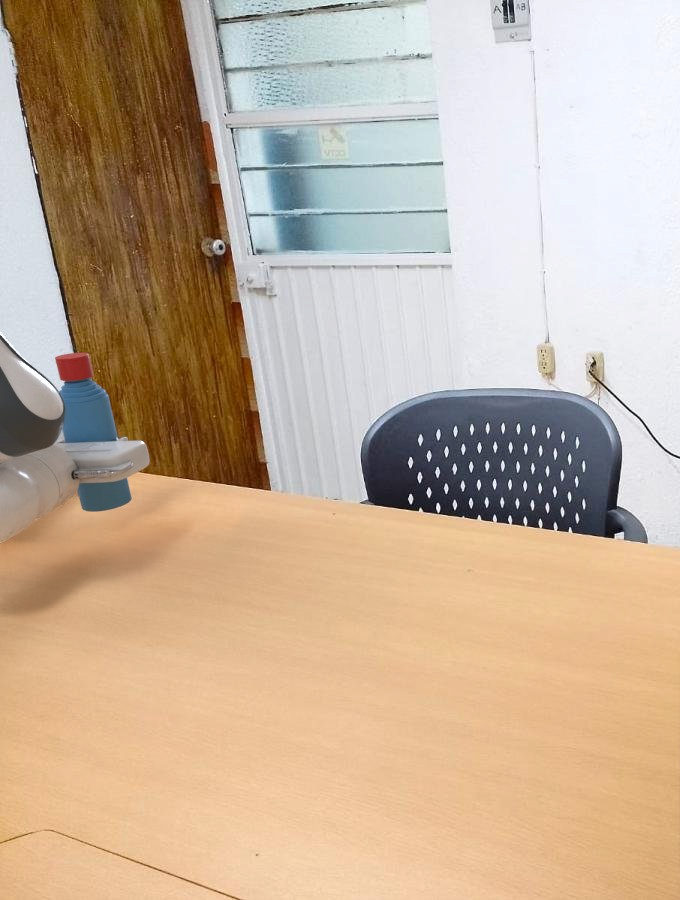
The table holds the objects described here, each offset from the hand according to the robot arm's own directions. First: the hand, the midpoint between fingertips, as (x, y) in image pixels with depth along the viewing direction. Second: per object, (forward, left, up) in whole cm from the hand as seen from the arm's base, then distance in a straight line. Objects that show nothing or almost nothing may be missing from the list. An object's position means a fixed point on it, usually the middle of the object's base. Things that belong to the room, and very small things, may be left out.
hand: (96, 443), depth 119 cm
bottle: (0, -1, -9) cm, 9 cm away
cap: (0, -1, +10) cm, 10 cm away
